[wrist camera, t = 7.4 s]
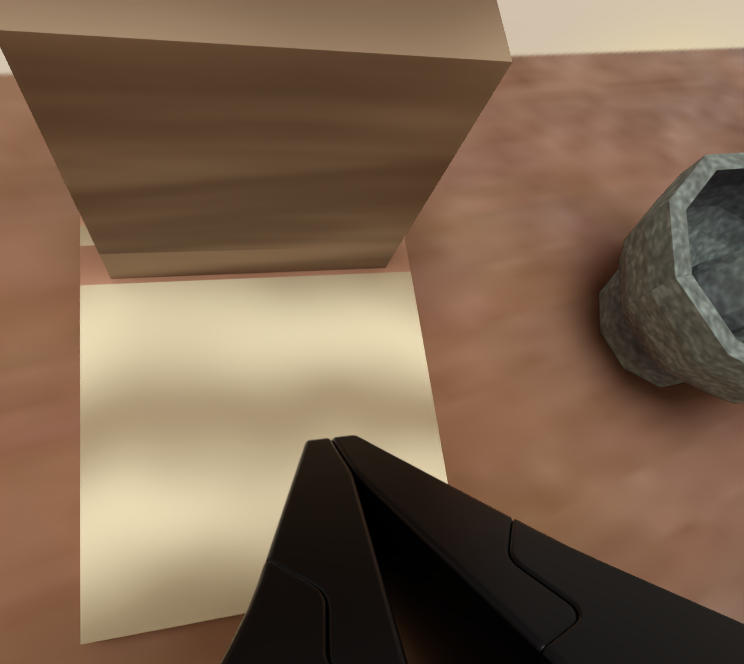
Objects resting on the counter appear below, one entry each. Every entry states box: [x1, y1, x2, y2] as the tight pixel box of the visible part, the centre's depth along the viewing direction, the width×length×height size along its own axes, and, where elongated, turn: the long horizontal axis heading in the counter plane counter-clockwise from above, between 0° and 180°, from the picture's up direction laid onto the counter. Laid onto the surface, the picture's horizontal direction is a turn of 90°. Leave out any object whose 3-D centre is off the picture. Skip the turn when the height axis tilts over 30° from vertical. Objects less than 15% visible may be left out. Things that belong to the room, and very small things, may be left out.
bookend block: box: [0, 0, 512, 279], centre depth 17 cm, size 5×10×11 cm, turn 99°
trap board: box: [80, 215, 448, 645], centre depth 21 cm, size 16×12×2 cm
